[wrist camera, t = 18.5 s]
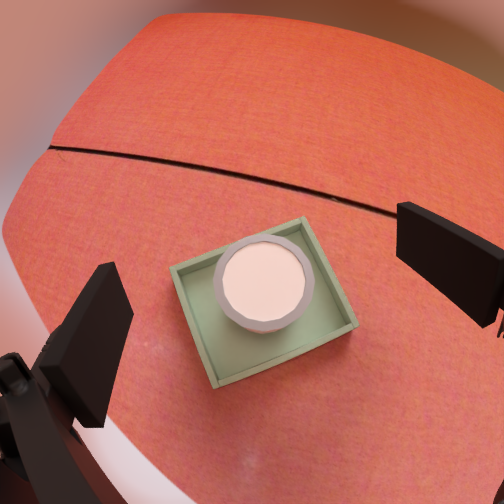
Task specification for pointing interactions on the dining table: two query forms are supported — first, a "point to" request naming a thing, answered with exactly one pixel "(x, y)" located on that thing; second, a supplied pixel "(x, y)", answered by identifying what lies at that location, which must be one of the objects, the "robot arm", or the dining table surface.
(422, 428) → the dining table surface
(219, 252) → the green tray
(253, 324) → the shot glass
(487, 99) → the dining table surface
